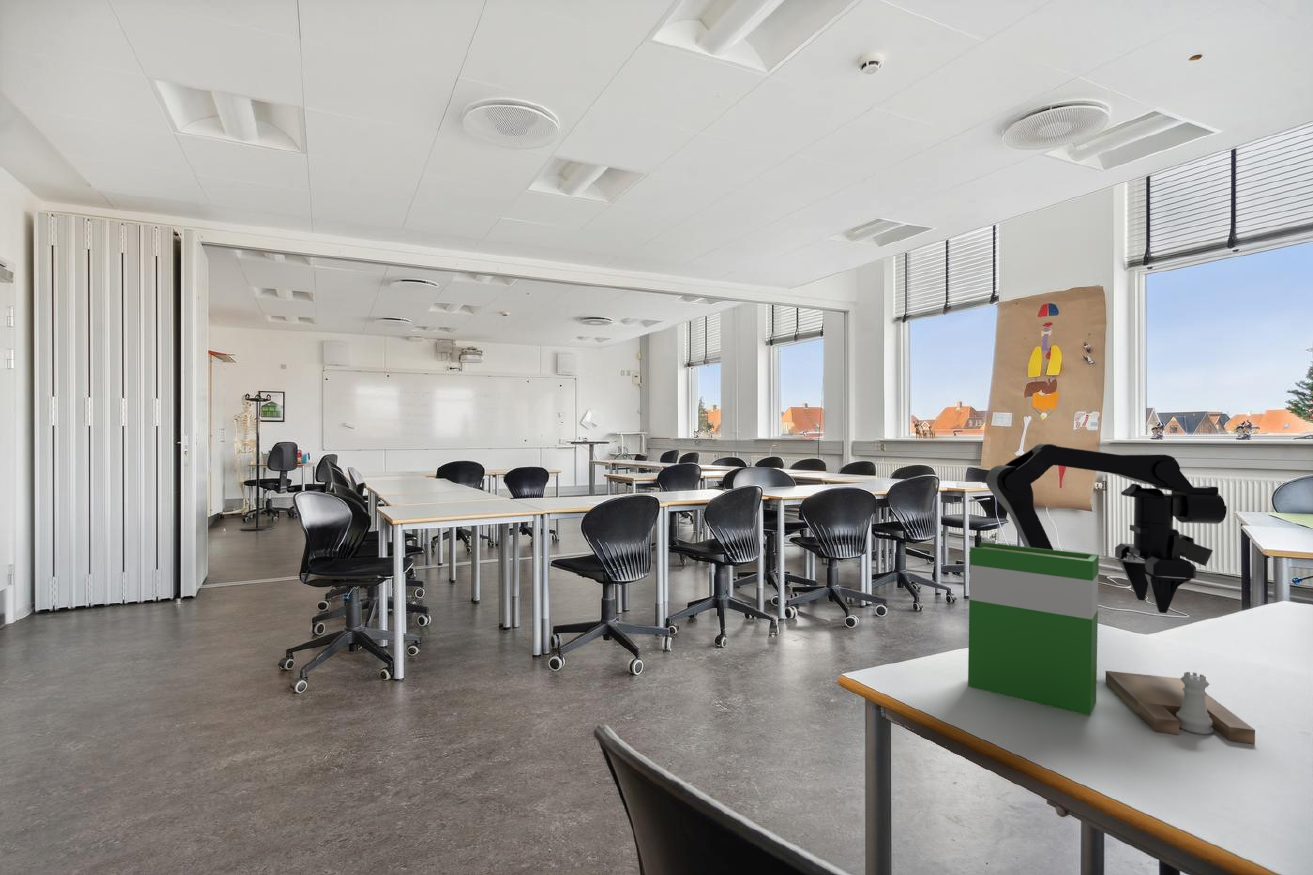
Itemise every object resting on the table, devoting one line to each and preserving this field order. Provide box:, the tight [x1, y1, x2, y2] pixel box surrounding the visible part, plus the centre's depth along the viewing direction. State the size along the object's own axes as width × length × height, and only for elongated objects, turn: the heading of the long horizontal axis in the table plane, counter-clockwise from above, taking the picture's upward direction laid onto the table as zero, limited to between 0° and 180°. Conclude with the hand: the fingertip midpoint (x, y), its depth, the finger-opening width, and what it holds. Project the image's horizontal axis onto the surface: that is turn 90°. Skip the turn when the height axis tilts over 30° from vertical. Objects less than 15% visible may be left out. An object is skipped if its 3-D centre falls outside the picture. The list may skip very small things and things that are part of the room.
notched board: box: [1104, 670, 1256, 745], centre depth 104 cm, size 12×20×2 cm, turn 163°
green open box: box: [967, 541, 1100, 717], centre depth 109 cm, size 18×7×24 cm, turn 50°
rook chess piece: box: [1176, 671, 1214, 736], centre depth 97 cm, size 4×4×8 cm
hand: (1151, 606), depth 121 cm, fingers open, 9 cm apart
